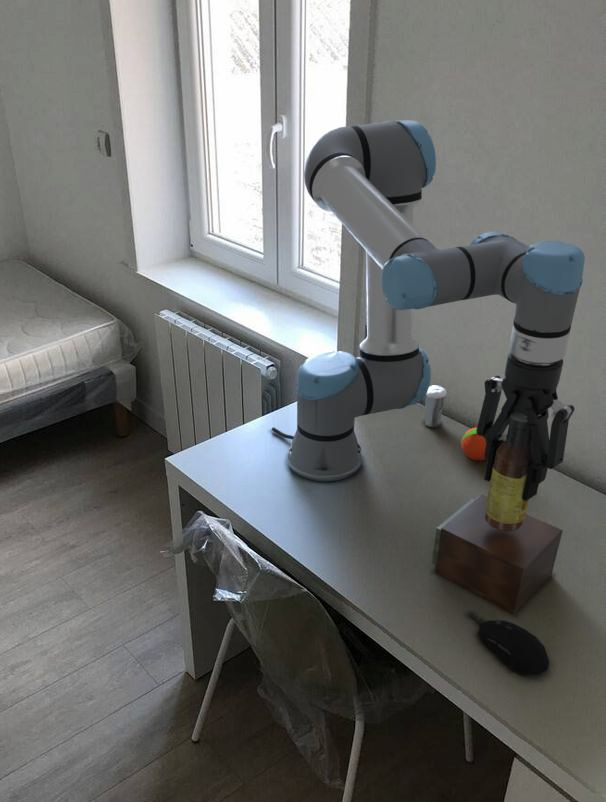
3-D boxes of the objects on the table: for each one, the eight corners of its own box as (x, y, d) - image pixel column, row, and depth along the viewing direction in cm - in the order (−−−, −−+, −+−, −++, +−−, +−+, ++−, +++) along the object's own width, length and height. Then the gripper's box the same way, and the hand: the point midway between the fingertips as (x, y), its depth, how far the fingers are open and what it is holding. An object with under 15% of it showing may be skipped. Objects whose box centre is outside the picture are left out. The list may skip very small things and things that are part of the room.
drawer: (425, 560, 136) (430, 524, 132) (462, 529, 143) (467, 494, 138) (502, 600, 127) (510, 564, 123) (537, 565, 134) (546, 530, 129)
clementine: (465, 470, 159) (470, 441, 155) (448, 453, 165) (452, 424, 161) (500, 463, 161) (505, 434, 157) (482, 446, 166) (487, 417, 162)
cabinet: (435, 572, 135) (441, 528, 129) (474, 537, 142) (482, 494, 136) (513, 614, 126) (523, 568, 120) (551, 574, 133) (563, 530, 127)
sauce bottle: (525, 535, 124) (549, 429, 113) (484, 531, 125) (504, 426, 114) (521, 510, 129) (544, 407, 118) (482, 506, 131) (501, 404, 119)
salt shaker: (416, 418, 177) (420, 379, 171) (440, 418, 176) (445, 379, 171) (419, 429, 173) (424, 389, 167) (444, 428, 173) (449, 389, 167)
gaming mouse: (484, 607, 127) (488, 590, 125) (557, 667, 116) (562, 649, 114) (455, 622, 125) (458, 604, 123) (526, 685, 114) (531, 667, 112)
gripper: (463, 341, 115) (446, 470, 128) (583, 387, 102) (550, 525, 115) (494, 326, 119) (474, 453, 132) (614, 369, 106) (578, 504, 119)
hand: (510, 486), depth 123 cm, fingers closed on sauce bottle, 6 cm apart
